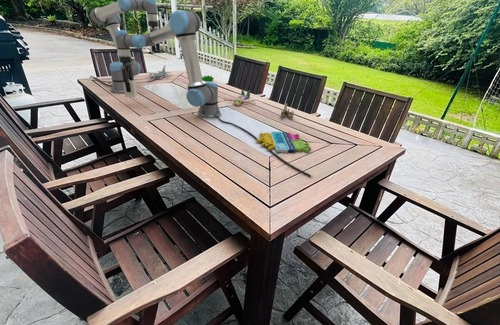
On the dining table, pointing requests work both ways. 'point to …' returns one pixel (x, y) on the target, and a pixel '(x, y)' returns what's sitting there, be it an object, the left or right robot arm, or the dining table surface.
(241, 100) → the toy
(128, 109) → the dining table surface
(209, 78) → the ornament
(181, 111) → the dining table surface
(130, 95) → the block
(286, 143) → the sign
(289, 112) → the jawbone
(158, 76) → the airplane
